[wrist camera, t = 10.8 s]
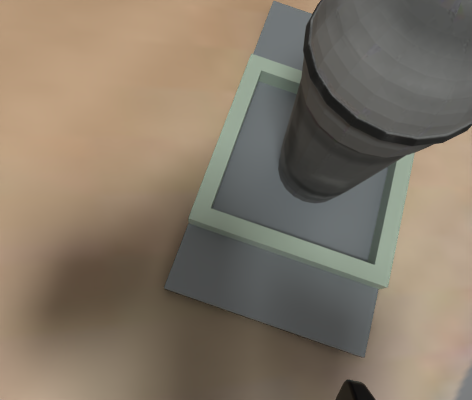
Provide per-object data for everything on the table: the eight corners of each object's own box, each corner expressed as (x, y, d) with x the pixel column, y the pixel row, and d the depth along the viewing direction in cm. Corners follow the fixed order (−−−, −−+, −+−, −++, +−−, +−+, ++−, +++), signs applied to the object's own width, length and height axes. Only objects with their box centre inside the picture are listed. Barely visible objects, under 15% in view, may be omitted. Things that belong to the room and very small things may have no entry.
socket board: (360, 356, 23) (373, 359, 21) (164, 288, 23) (162, 286, 21) (422, 58, 30) (436, 42, 28) (272, 6, 30) (276, -13, 28)
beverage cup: (304, 248, 24) (715, -37, 5) (233, 155, 25) (349, -342, 6) (389, 184, 26) (922, -201, 7) (319, 101, 27) (604, -411, 8)
